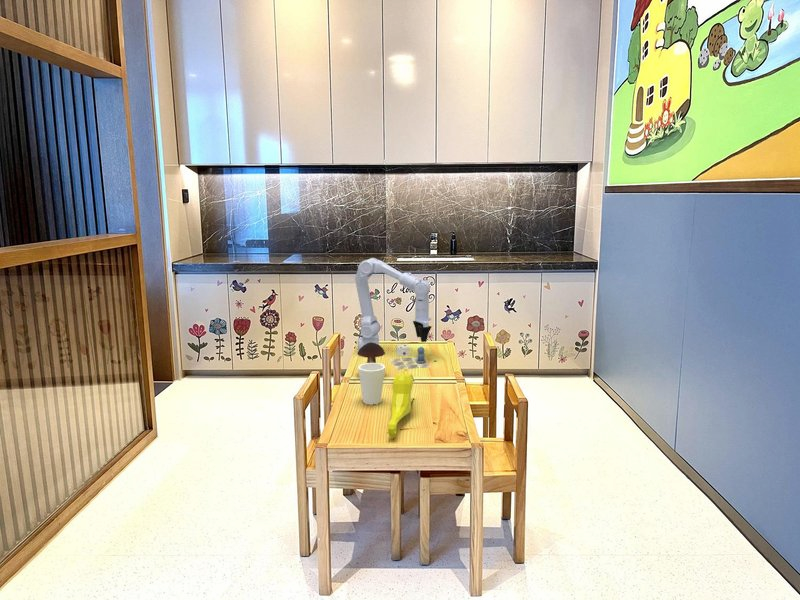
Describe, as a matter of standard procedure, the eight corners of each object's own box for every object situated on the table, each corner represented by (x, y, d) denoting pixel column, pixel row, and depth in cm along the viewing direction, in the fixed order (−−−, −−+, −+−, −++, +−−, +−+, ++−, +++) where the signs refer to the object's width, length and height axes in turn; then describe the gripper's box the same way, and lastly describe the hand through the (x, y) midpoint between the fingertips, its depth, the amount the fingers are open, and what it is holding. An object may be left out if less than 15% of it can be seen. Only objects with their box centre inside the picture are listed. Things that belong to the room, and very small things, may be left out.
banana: (397, 422, 205) (379, 440, 171) (400, 366, 206) (382, 373, 172) (416, 423, 204) (402, 442, 170) (418, 367, 205) (404, 374, 171)
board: (396, 372, 234) (396, 369, 234) (389, 361, 249) (389, 359, 248) (431, 369, 238) (431, 367, 237) (422, 359, 252) (422, 356, 252)
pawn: (417, 363, 242) (417, 348, 240) (415, 361, 245) (415, 346, 244) (426, 363, 243) (426, 347, 241) (424, 360, 246) (424, 345, 245)
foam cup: (358, 397, 207) (358, 363, 205) (384, 396, 208) (384, 362, 205) (358, 407, 198) (358, 371, 195) (385, 406, 198) (385, 370, 196)
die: (398, 359, 253) (398, 348, 252) (396, 355, 257) (396, 345, 256) (409, 358, 254) (409, 347, 253) (407, 355, 259) (407, 344, 258)
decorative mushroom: (388, 381, 223) (388, 345, 220) (361, 384, 220) (360, 347, 217) (380, 373, 233) (380, 337, 230) (354, 375, 230) (354, 340, 227)
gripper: (435, 312, 239) (434, 343, 242) (426, 305, 253) (426, 334, 255) (419, 312, 237) (418, 344, 240) (411, 305, 251) (411, 335, 254)
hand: (421, 339), depth 248 cm, fingers open, 7 cm apart
